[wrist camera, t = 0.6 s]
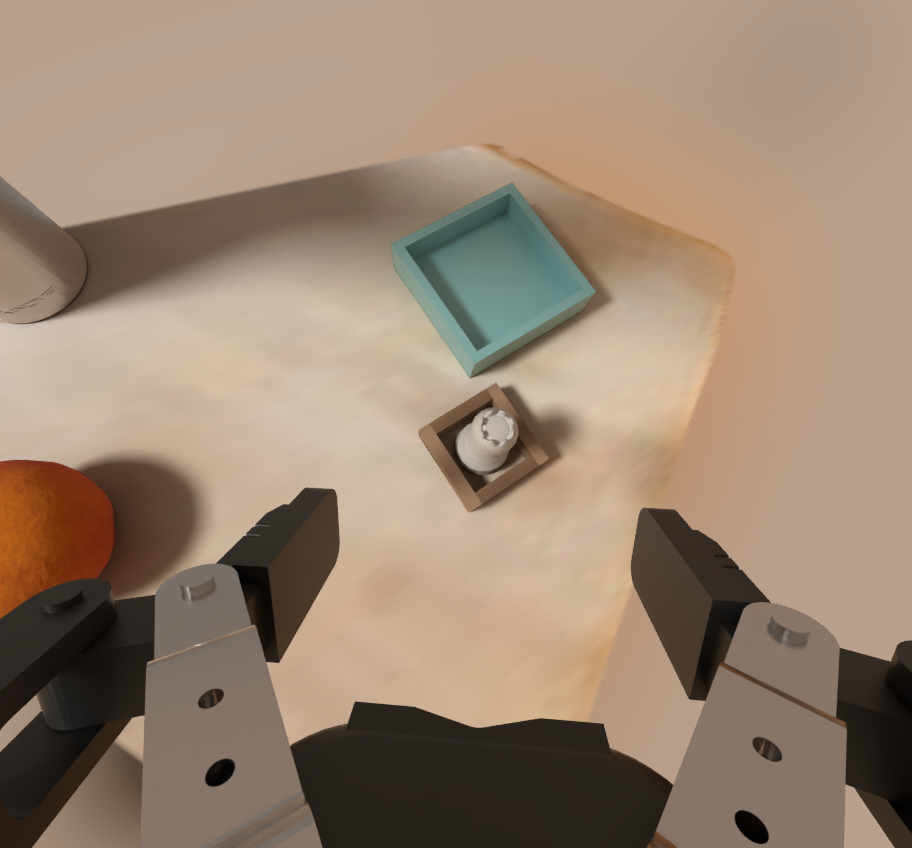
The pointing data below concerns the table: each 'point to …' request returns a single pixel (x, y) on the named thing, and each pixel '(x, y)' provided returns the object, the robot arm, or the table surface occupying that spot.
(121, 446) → the table surface
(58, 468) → the fruit
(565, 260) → the tray
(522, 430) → the socket collar
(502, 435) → the rook chess piece
